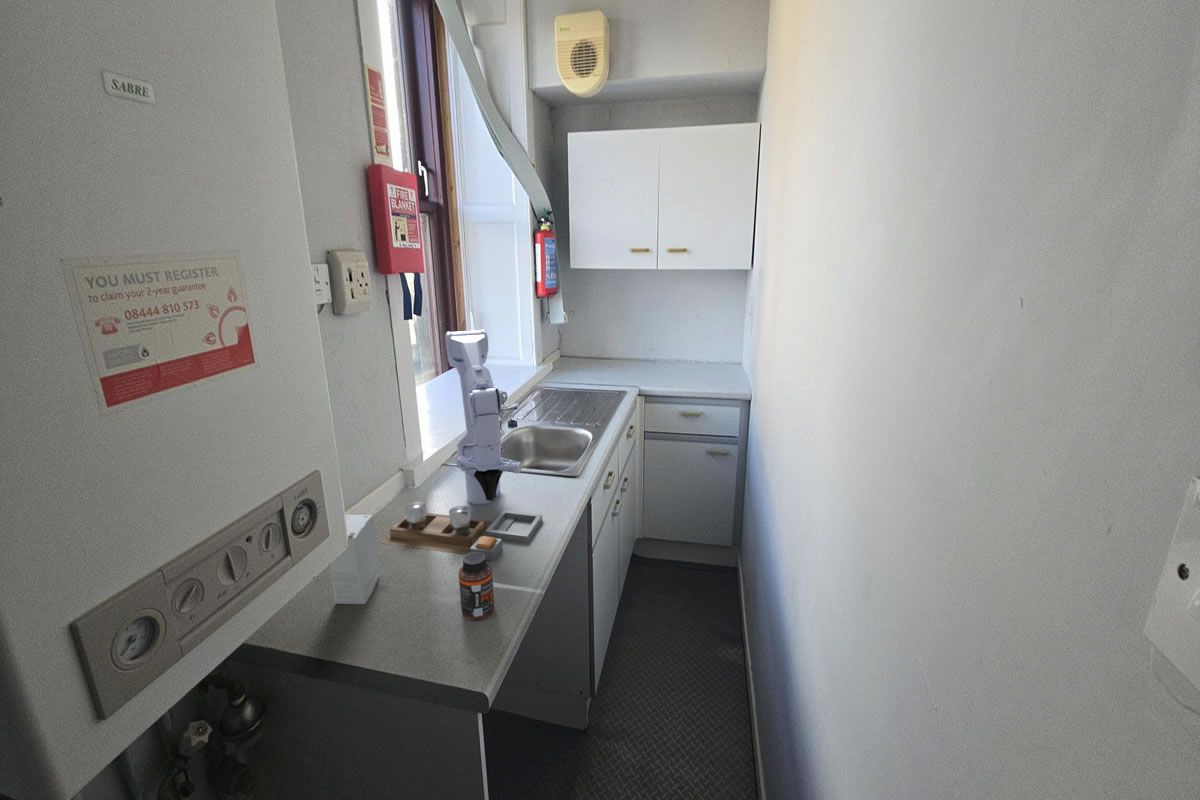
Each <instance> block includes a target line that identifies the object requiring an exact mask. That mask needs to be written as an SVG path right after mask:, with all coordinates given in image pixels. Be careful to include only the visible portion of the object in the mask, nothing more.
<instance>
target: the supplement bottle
mask: <svg viewBox="0 0 1200 800" xmlns="http://www.w3.org/2000/svg"><path fill="white" fill-rule="evenodd" d="M493 576H494V575H493V569H492V566H491V565H490V564H489V562H488V561H486V556H485V554H483V553H481V552H472V553H471V552H470V553H469V554H467V555H464V556H463V558H462V566H461V567H460V568H459V570H458V584H459V596H460V606H461V607H460V608H461V613H462V616H463V617H464V618H465V619H466V620H470V621H480V620H483V619H486V618H488V617H489V616H490V615H492V613H493V612H494V610H495V597H494V595H495V594H494V582H493V581H494V580H493Z"/></svg>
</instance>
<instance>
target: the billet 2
mask: <svg viewBox="0 0 1200 800" xmlns="http://www.w3.org/2000/svg"><path fill="white" fill-rule="evenodd" d="M470 515H471V513H470V507H468V506H467V505H458V506H457V505H456V506H454V507H451V508H450V509H449V510H448V516H450V527H451V534H452V535H460V536H468V535H469V534H470V533H471V523H470V518H471V516H470Z"/></svg>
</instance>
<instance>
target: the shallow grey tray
mask: <svg viewBox="0 0 1200 800" xmlns="http://www.w3.org/2000/svg"><path fill="white" fill-rule="evenodd" d="M505 518H511V519H513V520H512V521H511V523H510V525H509V526H508V527H507V528H506V530H505V531H504V530H497V529H498V527H499V526H500V524H501V523H502V522H503V521H504V519H505ZM492 522H493V523H492V524H491V525H490V526H489V528H488V529H487V530H486V531H485V532H486V533H485V536H488V537H495V538H499V539H502V541H503V540H504V541H511V542H519V543H526V544H527V543H529V541H531V538H532V537H533V535H534V534H535V532H536V531H537V529H538V528H539V526H540V525H541V523H542V522H543V514H538V513H531V512H530V513H529V512H521V511H512V510H503V509H502V510H501V512H500V513H499V514H498V516H497V517H496V518H495V519H494V521H492Z"/></svg>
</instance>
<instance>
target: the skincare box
mask: <svg viewBox="0 0 1200 800" xmlns="http://www.w3.org/2000/svg"><path fill="white" fill-rule="evenodd" d="M344 515H345V521H346V527H347V535H348V547H347V548H346V550H345V551H344V552H343V553H342V554H341V555H340V556H339V557H338V558H337V559H336V560H335V561H333V562H332V563H331V564H330V565H329V564H328V565H329V567H328V568H329V573H330V579H331V584H332V590H333V591H332V592H333V597H334V603H335V604H338V605H340V604H341V605H365V604H366V603H367V602H368V600H369V598H370V597H371V595H372V593H373V592H374V590H375V589H376V587H377V585H378V583H377V582H378V580H379V579H380V577H381V567H380V559H379V552H378V545H377V544H378V543H377V537H376V536H377V535H376V530H375V529H376V528H375V522H374V521H375V520H374V515H371V514H344Z"/></svg>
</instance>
